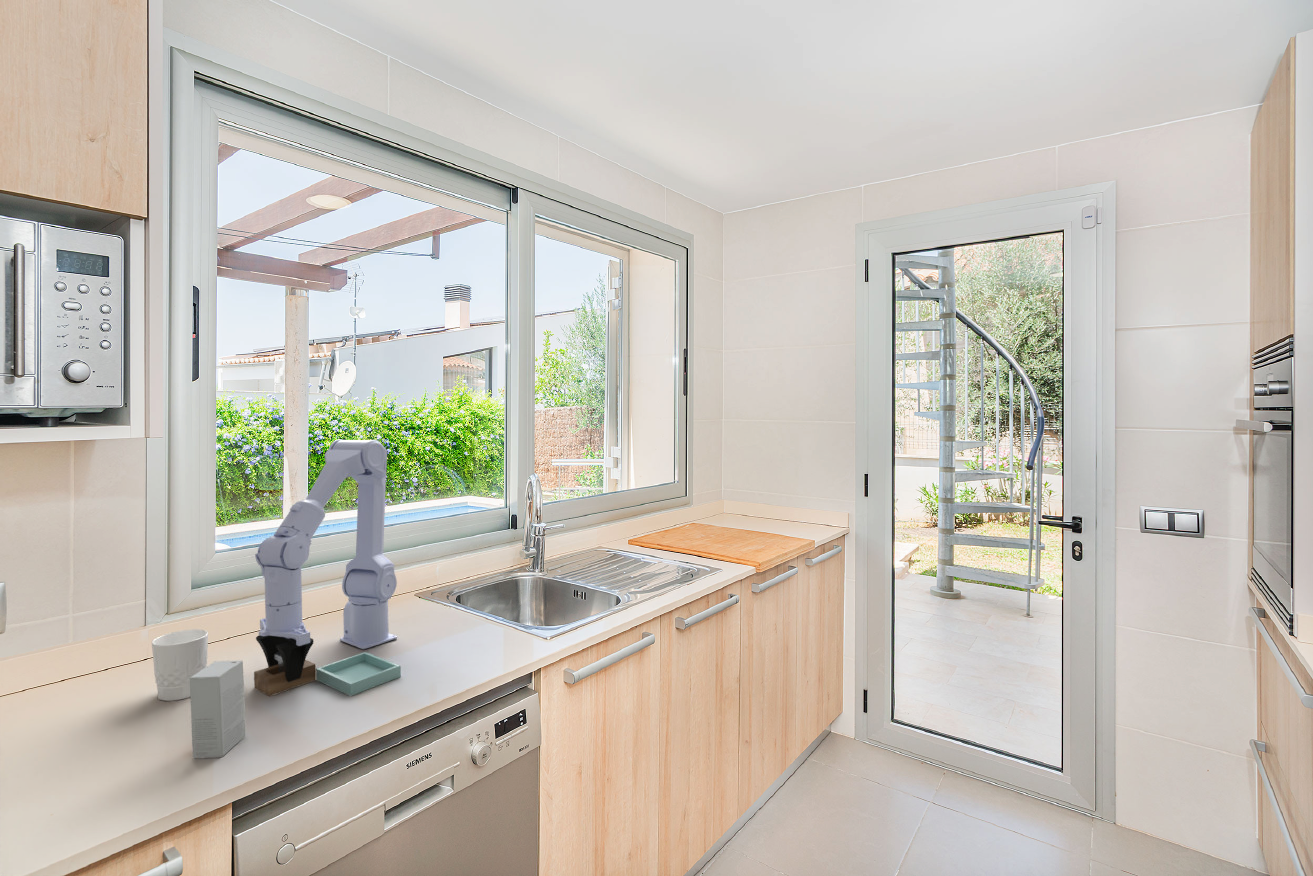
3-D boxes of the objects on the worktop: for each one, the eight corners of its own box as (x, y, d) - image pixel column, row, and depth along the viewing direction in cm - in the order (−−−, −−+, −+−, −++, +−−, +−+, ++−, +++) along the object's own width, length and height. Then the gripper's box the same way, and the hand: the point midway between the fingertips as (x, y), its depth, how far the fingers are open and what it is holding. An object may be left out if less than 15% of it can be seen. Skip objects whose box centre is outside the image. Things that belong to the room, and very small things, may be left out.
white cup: (147, 706, 104) (146, 648, 104) (159, 688, 111) (157, 633, 111) (205, 697, 108) (203, 640, 108) (213, 679, 115) (211, 626, 115)
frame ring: (254, 688, 111) (254, 671, 111) (300, 672, 118) (300, 657, 118) (269, 696, 108) (268, 679, 108) (315, 680, 115) (315, 664, 115)
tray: (316, 679, 115) (315, 668, 115) (365, 662, 123) (365, 652, 123) (350, 696, 108) (350, 684, 108) (400, 676, 116) (400, 665, 116)
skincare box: (216, 737, 95) (215, 660, 94) (246, 736, 95) (244, 659, 94) (190, 759, 89) (188, 677, 88) (222, 758, 89) (219, 676, 88)
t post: (274, 683, 114) (274, 653, 113) (285, 679, 115) (284, 650, 115) (285, 688, 111) (285, 658, 111) (296, 685, 113) (295, 655, 112)
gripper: (241, 600, 113) (243, 673, 114) (279, 615, 105) (281, 693, 106) (282, 591, 119) (283, 660, 120) (321, 604, 111) (323, 679, 112)
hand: (285, 675), depth 113 cm, fingers closed on frame ring, 6 cm apart
